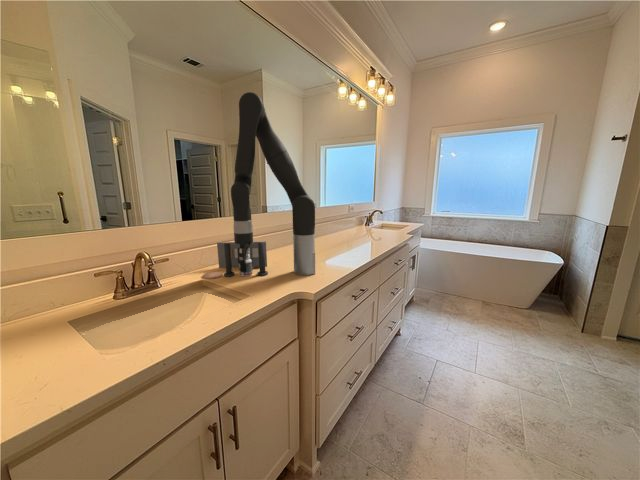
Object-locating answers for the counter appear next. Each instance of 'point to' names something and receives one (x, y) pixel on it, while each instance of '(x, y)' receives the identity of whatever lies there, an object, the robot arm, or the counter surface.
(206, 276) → the coaster
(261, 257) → the post
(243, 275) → the pill bottle
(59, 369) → the counter surface
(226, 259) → the post
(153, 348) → the counter surface
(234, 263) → the panel
